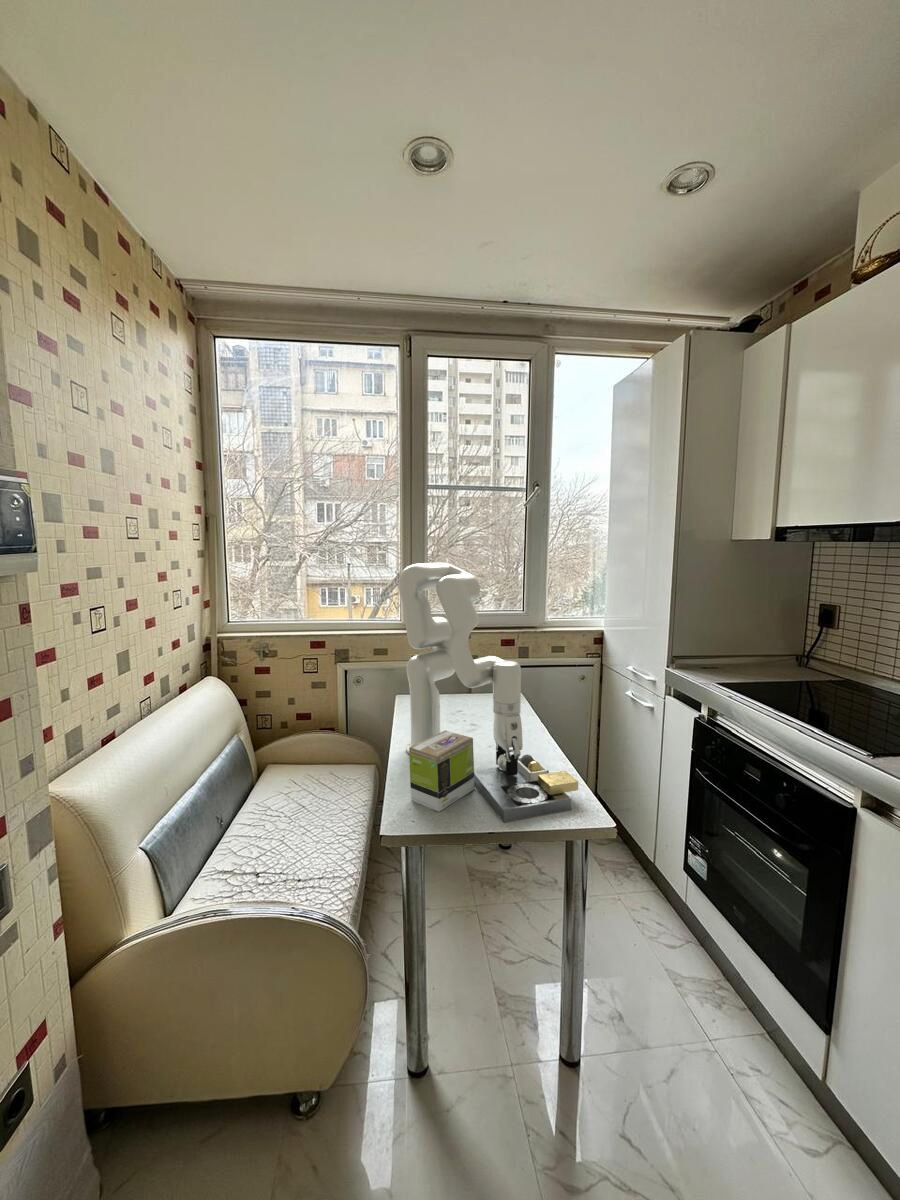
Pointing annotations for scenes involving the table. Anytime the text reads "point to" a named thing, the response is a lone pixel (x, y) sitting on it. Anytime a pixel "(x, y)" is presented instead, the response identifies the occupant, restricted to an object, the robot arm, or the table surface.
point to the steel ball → (502, 761)
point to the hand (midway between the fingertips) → (506, 768)
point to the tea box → (441, 769)
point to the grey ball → (526, 760)
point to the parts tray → (531, 775)
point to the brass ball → (534, 766)
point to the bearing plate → (517, 795)
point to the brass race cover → (557, 782)
